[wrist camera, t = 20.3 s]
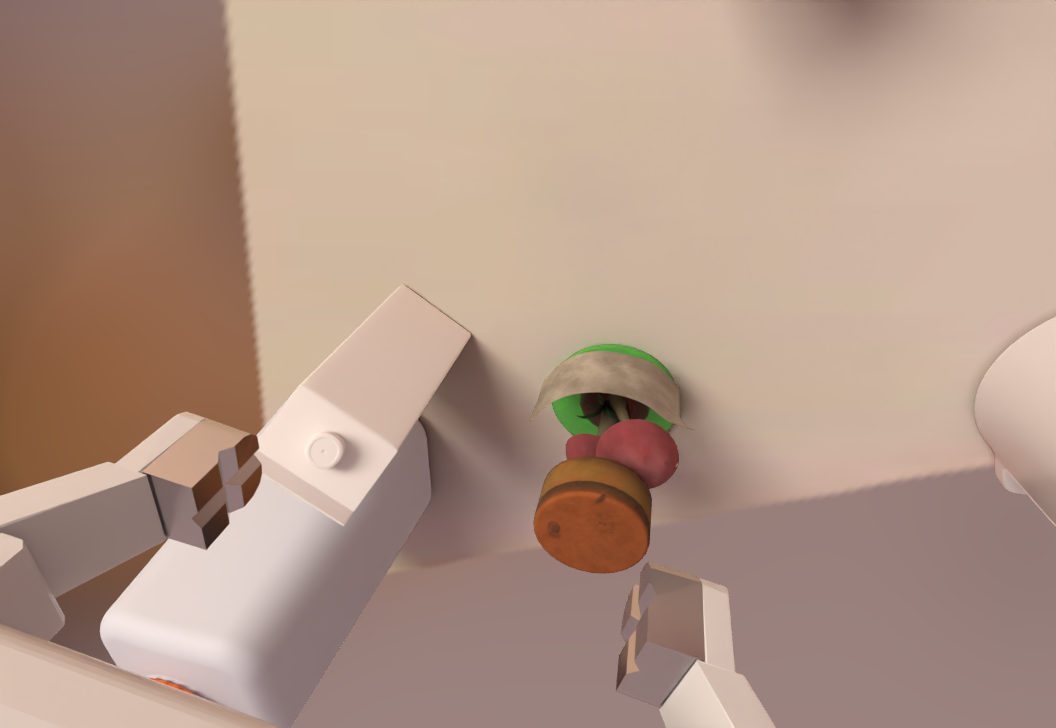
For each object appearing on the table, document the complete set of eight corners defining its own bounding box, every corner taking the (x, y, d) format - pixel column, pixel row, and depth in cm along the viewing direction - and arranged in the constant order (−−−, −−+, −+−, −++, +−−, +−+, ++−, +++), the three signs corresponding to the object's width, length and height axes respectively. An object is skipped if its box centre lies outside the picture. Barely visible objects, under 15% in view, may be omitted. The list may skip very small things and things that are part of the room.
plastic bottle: (284, 375, 54) (-6, 644, 31) (429, 401, 52) (227, 714, 29) (312, 484, 62) (99, 760, 40) (437, 511, 60) (287, 822, 37)
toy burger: (707, 443, 47) (717, 597, 35) (566, 455, 51) (530, 595, 39) (684, 322, 41) (686, 454, 29) (529, 346, 46) (473, 470, 33)
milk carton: (433, 383, 50) (323, 551, 35) (368, 337, 49) (224, 489, 34) (473, 333, 46) (368, 497, 31) (403, 282, 45) (257, 425, 30)
